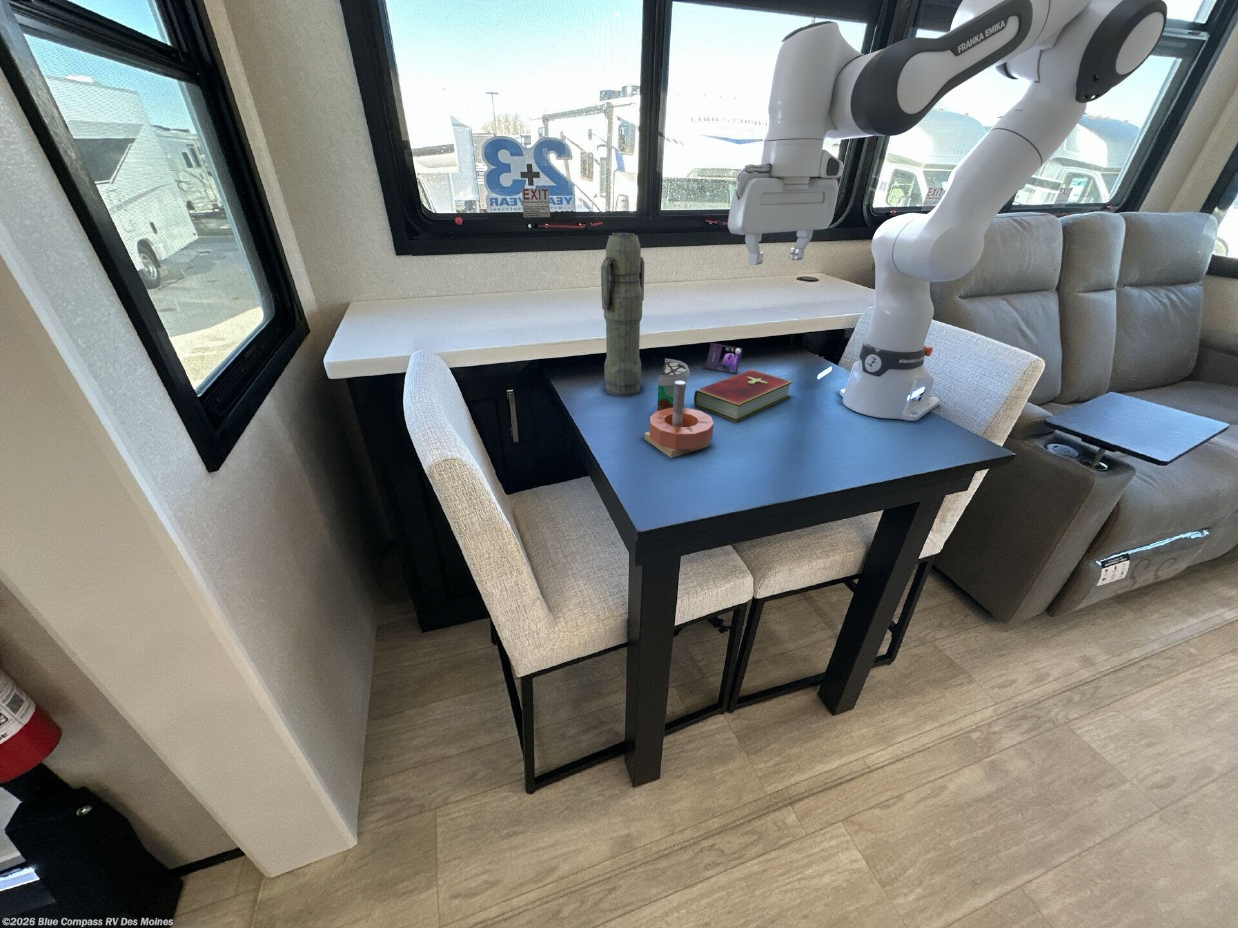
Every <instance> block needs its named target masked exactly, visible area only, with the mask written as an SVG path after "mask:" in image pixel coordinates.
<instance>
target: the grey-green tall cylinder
mask: <svg viewBox="0 0 1238 928" xmlns="http://www.w3.org/2000/svg"><path fill="white" fill-rule="evenodd" d="M641 254H642V248H641V244H640V240H639V237H638V235H636V234H635V233H634V232H612V234H611V235H608V239H607V243H606V246H605V258H604V259H603V260H602V263H601V266H600V276H601V277H600V278H601V279H600V281H601V282H600V285H601V308H602V311H603V317H604V320H605V341H606V342H605V343H606V344H605V345H606V349H605V350H606V358H605V361H604V365H603V366H604V382H605V389H604V390H605V391H606V393H608V394H610V395H613V396H617V397H628V396H633V395H636V394H639V392H641V381H642V362H641V358H640V343H641V342H640V340H641V337H640V336H641V335H640V332H641V321H642V318H643V301H644V299H645V296H644V295H645V260H644V257H642V256H641Z"/></svg>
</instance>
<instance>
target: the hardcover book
mask: <svg viewBox="0 0 1238 928" xmlns="http://www.w3.org/2000/svg"><path fill="white" fill-rule="evenodd" d="M791 384H793V380H789V379H786V378H783V377H779V376H775V375H772V374H769V373H765V372H762V371H758V370H754V369H749V370H746V371H742V372H740V373H736V374H734V375H732V376H730V377H727V378H724V379H722V380H719V381H716V382H714V383H711V384H709V385H705V386H703V387H700V388H698V389H695V391H694V395H693V404H694V407H696V408H699V409H701V410H704V411H706V412H709V413H712V414H714V415H717V416H719V417H722V418H725V419H728V420H730V421H733V422H735V423H737V422H739V421H742V420H744V419H746V418H748V417H750V416H752V415H755V414H756V413H759V412H761V411H763V410H765V409H767V408H770V407H771V406H774V405H776V404H778V403H780V402H782V401H784V400H787V399H789V398H790V397H791V395H790V394H789V392H790V391H789V390H790V385H791Z"/></svg>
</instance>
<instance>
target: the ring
mask: <svg viewBox="0 0 1238 928" xmlns="http://www.w3.org/2000/svg"><path fill="white" fill-rule="evenodd" d="M672 417H673V408H667V409H663V410H659V411H658V410H656V411H655V412H654V413H652V414H651V415H650V416H649V422H648V423H649V425H648V427H649V428H648V432H649V434H650V439H652V440H653V441H654V442H656V443H657V444H659V445H660V446H664V447H668V448H672V449H695V448H698V447H702V446H705V445H707V444H708V443H709V444H710V442H711V440H712V439H713V434H714V427H715V424H714V420H713V418H712V416H711V415H709V414H708V413H706V412H704V411H701V410H699V409H694V408H688V407H684V411H683V425H682V427H675V426H672Z"/></svg>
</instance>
